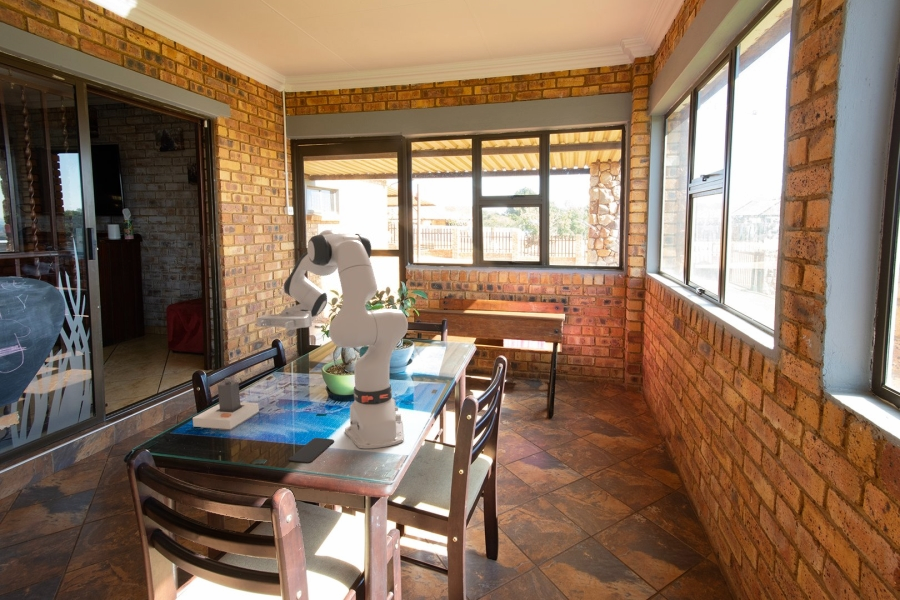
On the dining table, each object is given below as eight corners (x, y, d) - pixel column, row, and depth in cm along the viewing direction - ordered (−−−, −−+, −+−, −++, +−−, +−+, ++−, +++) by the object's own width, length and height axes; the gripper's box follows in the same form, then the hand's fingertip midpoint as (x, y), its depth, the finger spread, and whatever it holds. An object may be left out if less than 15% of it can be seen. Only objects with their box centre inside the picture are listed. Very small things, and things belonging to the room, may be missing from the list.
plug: (228, 413, 178) (225, 376, 176) (241, 414, 177) (237, 376, 175) (220, 418, 173) (217, 380, 171) (233, 419, 172) (229, 380, 170)
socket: (224, 410, 182) (223, 399, 182) (258, 412, 179) (258, 401, 179) (193, 427, 167) (192, 415, 166) (230, 430, 164) (229, 418, 163)
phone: (287, 459, 142) (314, 437, 156) (287, 462, 142) (314, 439, 156) (310, 462, 140) (335, 439, 154) (310, 465, 140) (335, 442, 154)
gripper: (267, 309, 200) (246, 316, 187) (314, 310, 196) (296, 317, 182) (268, 325, 201) (248, 332, 188) (315, 326, 197) (297, 334, 183)
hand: (272, 325), depth 185 cm, fingers open, 8 cm apart
